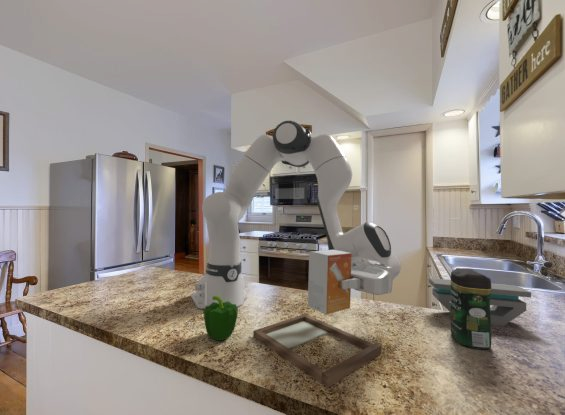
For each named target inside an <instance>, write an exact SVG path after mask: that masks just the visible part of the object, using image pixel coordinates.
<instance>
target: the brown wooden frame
mask: <svg viewBox="0 0 565 415" xmlns="http://www.w3.org/2000/svg"><path fill="white" fill-rule="evenodd" d="M252 333H253V338H255V339H256V340H258V341H260V343H262V344H263V345H264V346H267V347H268V348H269V349H271V350H272V351H274V352H275V353H277V354H278V355H280V357H282V358H284V359H285V360H287V361H288V362H289V363H291V364H293V365H294V366H295V367H297V368H299V369H300V370H301V371H303V372H304V373H306V374H307V375H309V376H310V377H311V378H313V379H315V380H316V381H317V382H319V383H320V384H322V385H323V386H325V387H326V388H330V387H331V386H333V385H334V384H337V382H340V381H341V380H342V379H344V378H345V377H347V376H349V375H350V374H352V373H353V372H355V371H356V370H358V369H360V368H361V367H364V365H366V364H368V363H369V362H371V361H373V360H374V359H376V358H377V357H379V356H381V355H382V345H381V344H379V343H377V342H374V343H373V342H370V341H368V340H366V339H363V338H360V337H358V336H356V335H354V334H353V333H352V334H351V333H350V332H347V331H345V330H342V329H341V328H338V327H336V326H333V325H331V324H330V323H326V322H325V321H322V320H320V319H317V318H315V317H313V316H311V315H308V314H306V313H304V314H301V315H299V316H295V317H292V318H289V319H285V320H282V321H280V322H276V323H274V324H273V323H272V324H270V325H267V326H265V327H261V328H258V329H255V330H253V332H252ZM327 334H329V335H332V336H334V337H337V338H338V339H341V340H343V341H345V342H347V343H349V344H351V345H353V346H356V347H357V348H360V349H361V350H360V351H358V352H356V353H355V354H353V355H351V356H350V357H347V358H346V359H344V360H342V361H341V362H339V363H337V364H335V365H333V366H332V367H330V368H328V369H326V370H324V369H323V368H321V367H319V366H317V365H316V364H314V363H313V362H311V361H310V360H308V359H306V358H305V357H303V356H301V355H300V354H298V353H297V352H295V351H294V350H292V349H294V348H296V347H298V346H301V345H303V344H305V343H308V342H311V341H313V340H315V339H317V338H320V337H322V336H324V335H327Z"/></svg>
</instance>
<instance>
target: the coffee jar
mask: <svg viewBox="0 0 565 415" xmlns="http://www.w3.org/2000/svg"><path fill="white" fill-rule="evenodd" d="M450 280H451V301H450V303H451V313H450V333H451V336H452V337H453V338H454V339H455V340H456V342H458V343H459V344H460V345H463V346H465V347H469V348H470V349H471V348H472V349H475V350H486V349H488V350H489V349H491V348H492V325H491V317H490V308H491V305H490V297H491V288H492V287H491V283H492V281H491V278H490V277H488V276H486V275H485V274H482V273H480V272H478V271H476V270H474V269H472V268H464V267H463V268H461V267H457V268H455V269H453V270H452V271H451V272H450Z"/></svg>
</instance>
